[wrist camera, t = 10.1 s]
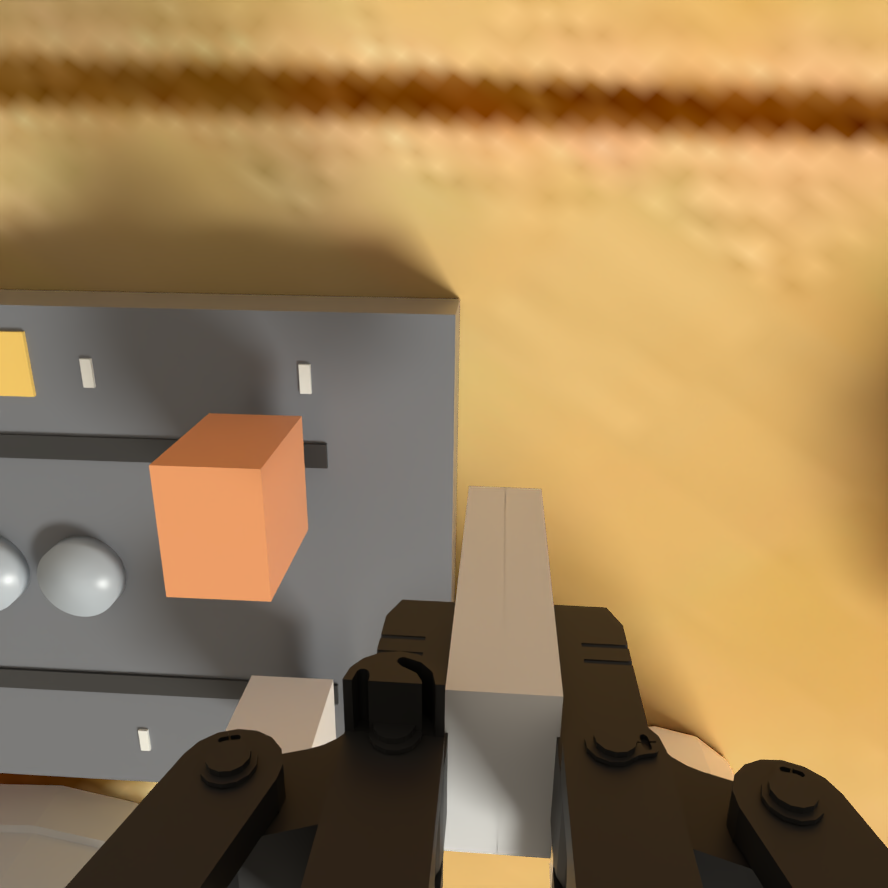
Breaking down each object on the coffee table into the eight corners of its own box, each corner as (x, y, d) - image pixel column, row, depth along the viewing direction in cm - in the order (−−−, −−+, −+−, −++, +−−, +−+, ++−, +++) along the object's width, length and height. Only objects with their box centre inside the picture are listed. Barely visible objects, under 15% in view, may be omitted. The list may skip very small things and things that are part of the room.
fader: (234, 507, 22) (166, 596, 17) (224, 399, 21) (148, 465, 16) (318, 510, 22) (270, 601, 17) (312, 402, 20) (260, 468, 16)
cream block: (270, 735, 24) (219, 863, 20) (263, 650, 23) (208, 766, 19) (344, 739, 24) (310, 869, 20) (341, 654, 23) (303, 772, 19)
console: (-80, 716, 29) (-145, 778, 26) (-200, 285, 23) (-300, 302, 20) (452, 744, 27) (447, 813, 25) (459, 298, 22) (454, 319, 19)
